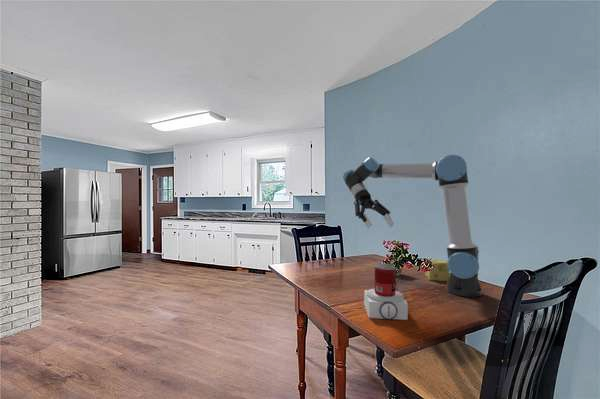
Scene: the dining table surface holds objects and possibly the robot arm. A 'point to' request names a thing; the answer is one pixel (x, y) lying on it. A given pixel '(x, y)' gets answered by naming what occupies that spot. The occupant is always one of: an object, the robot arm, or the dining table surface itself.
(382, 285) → the canned food
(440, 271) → the cheese
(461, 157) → the robot arm
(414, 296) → the dining table surface
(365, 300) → the kitchen scale
